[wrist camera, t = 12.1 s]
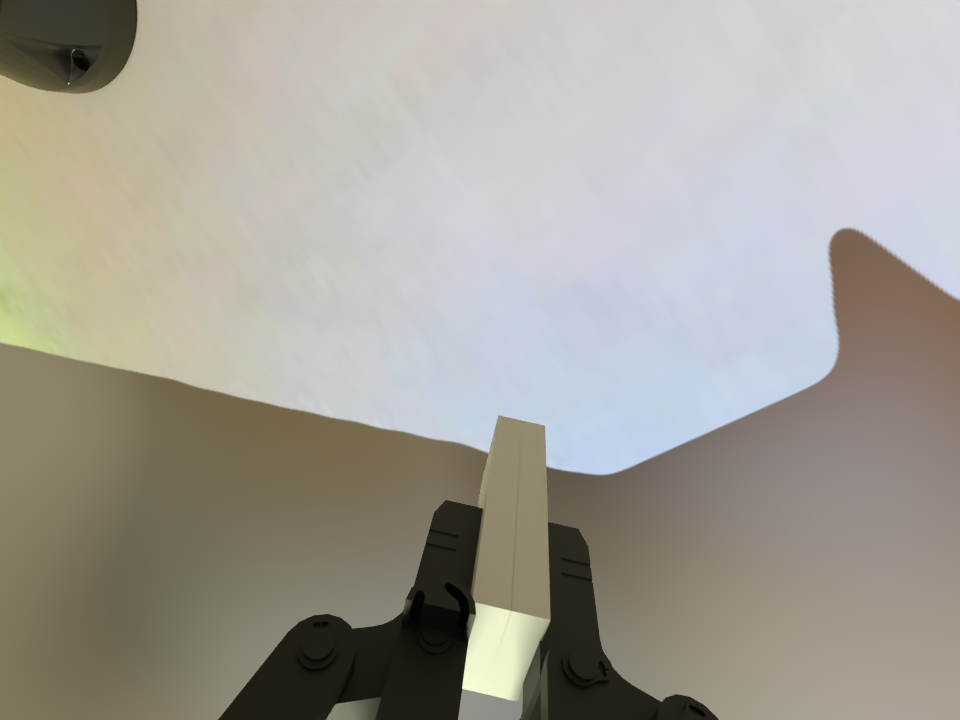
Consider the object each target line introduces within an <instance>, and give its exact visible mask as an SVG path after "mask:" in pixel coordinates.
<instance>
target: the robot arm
mask: <svg viewBox="0 0 960 720" xmlns="http://www.w3.org/2000/svg"><path fill="white" fill-rule="evenodd" d="M135 29H136V7H135V0H0V75H3V76H5V77H7V78H9V79H12V80H14V81H16V82H18V83H21V84H23V85H26V86H29V87H33V88H36V89H41V90H46V91H54V92H64V93H87V92H92V91H95V90H98V89H100V88H102V87H104V86H106V85H107V84H109V83H110V82H111V81H113V80H114V79H115V78H116V77H117V76H118V74H119V73H120V72H121V71H122V69H123V68H124V66H125V64H126V62H127V60H128V58H129V56H130V53H131V50H132V46H133V42H134V37H135ZM462 689H466V690H471V691H475V692H479V693H483V694H488V695H493V696H497V697H501V698H505V699H509V700H513V701H518V700H519V698H520V695H521V693H522V690H523V712H522V715H521V718H520V720H718V718H717V717H716V716H715V715H714V714H713V713H712V712H711V711H710V710H709V709H708V708H707V707H706V706H704V705H703V704H701V703H699V702H698V701H696V700H694V699H693V698H691V697H687V696H682V695H677V694H676V695H673V696H670V697H666V698H665V699H664V701H663V702H660V701H658V700H657V699H655V698H653V697H652V696H650V695H648V694H646V693H645V692H643V691H641V690H640V689H638V688H636V687H635V686H633V685H631V684H630V683H629V682H627V681H626V680H624V679H623V678H622V677H621V676H620V675H619V674H618V673H617V672H616V671H615V670H614V669H613V667H612V665H611V662H610V661H609V660H608V658H607V657H606V655H605V654H604V652H603V650H602V646H601V642H600V637H599V629H598V622H597V613H596V606H595V598H594V590H593V583H592V574H591V568H590V558H589V550H588V545H587V544H586V542H585V540H584V538H583V537H582V535H581V533H580V531H579V530H578V529H576V528H572V527H567V526H563V525H559V524H554V523H550V522H548V515H547V480H546V444H545V426H543V425H539V424H534V423H530V422H526V421H521V420H517V419H512V418H508V417H503V416H499V415H498V419H497V423H496V427H495V431H494V435H493V439H492V443H491V447H490V451H489V455H488V459H487V464H486V468H485V471H484V476H483V480H482V484H481V491H480V497H479V503H478V507H474V506H470V505H465V504H461V503H457V502H452V501H447V500H446V501H445V502H444V503H443V504H442V505H441V506H440V507H439V508H438V509H437V510H436V511H435V512H434V516H433V519H432V522H431V526H430V530H429V533H428V537H427V541H426V545H425V548H424V551H423V555H422V559H421V562H420V566H419V570H418V573H417V577H416V580H415V584H414V586H413V587H412V588H411V590H410V592H409V594H408V596H407V598H406V601H405V607H404V610H403V612H402V613H401V614H400V615H398V616H397V617H396V618H395V619H394V620H392V621H389V622H387V623H385V624H382V625H378V626H374V627H365V628H356V629H352V628H351V626H350V625H349V624H348V623H347V622H345V621H344V620H343V619H342V618H340V617H336V616H332V615H329V614H325V615H314V616H312V617H309V618H307V619H305V620H303V621H301V622H299V623H298V624H297V625H296V626H295V627H293V628H292V629H291V630H290V631H289V632H288V633H287V634H286V636H285V637H284V638H283V639H282V641H281V642H280V643H279V644H278V646H277V647H276V648H275V649H274V651H273V652H272V653H271V654H270V656H269V657H268V658H267V659H266V661H265V662H264V663H263V664H262V666H261V667H260V668H259V670H258V671H257V672H256V673H255V675H254V676H253V677H252V678H251V679H250V681H249V682H248V683H247V684H246V686H245V687H244V688H243V689H242V691H241V692H240V693H239V694H238V696H237V697H236V698H235V699H234V701H233V702H232V703H231V705H230V706H229V707H228V708H227V709H226V711H225V712H224V713H223V715H222V716H221V717H220V718H219V719H218V720H458V715H459V707H460V700H461V693H462Z"/></svg>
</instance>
